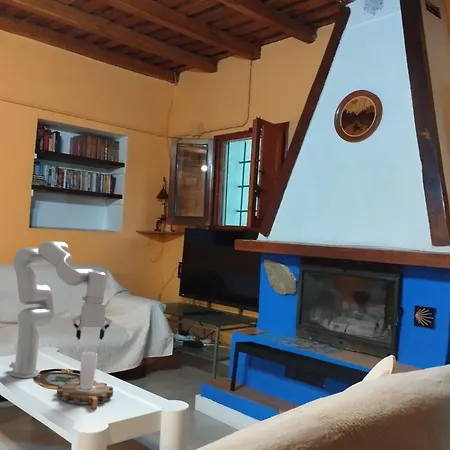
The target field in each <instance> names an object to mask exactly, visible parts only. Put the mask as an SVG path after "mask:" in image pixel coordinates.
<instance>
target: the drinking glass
mask: <svg viewBox="0 0 450 450" xmlns="http://www.w3.org/2000/svg"><path fill="white" fill-rule="evenodd" d="M97 364H98V352H95V351H83V352H81V356H80V372H79V379H80V388H81V389H85V390H87V389H91V388H92V387H93V381H95V380H94V379H95V374H96V369H97Z"/></svg>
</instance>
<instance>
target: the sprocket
mask: <svg viewBox="0 0 450 450" xmlns="http://www.w3.org/2000/svg"><path fill="white" fill-rule="evenodd" d="M56 396H57V397H58V396H62V399H64V400H68V399H71V400H74V402H78V403H80V402H81V401H88V402H89V403H91V397H97V398H98V400H101V401H105V400H107V397H111V398H112V397H113V396H114V387H113V386H108V383H106V382H101V383H100V382H97V381H96V380H93V387H92V388H91V389H87V390H85V389H81V388H80V378H79V379H78V380H76V381H66V382H64V384H58V385H57V389H56Z"/></svg>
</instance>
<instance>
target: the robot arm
mask: <svg viewBox="0 0 450 450" xmlns="http://www.w3.org/2000/svg"><path fill="white" fill-rule="evenodd" d="M72 261H73V257H72V255H71V254H70V248H69V246H68V244H67V243H65V242H64V241H59V240H56V241H54V240H45V241H43V242H41V243H40V244H39V245H38V247H30V246H29V247H22V248H20V249H18V250H17V251H16V252H15V253H14V256H13V261H12V262H13V263H12V264H13V268H14V272H15V275H16V284H17V291H18V292H17V293H18V300H19V303H20V304H22V305H24V306H29V305H30V306H31V305H37V306H33V307H32V306H31V307H27V308H23V309H22V310H20V311H19V313H18V314H17V326H18V328H17V329H18V330H17V331H18V332H17V333H18V334H17V342H16V353H15V362H14V361H12V362H11V363H10V364H8V367H9V368H10V369H11V368H12V370H11V371H10V376H12V377H14V378H16V379H32V378H36V377H38V376H39V374H40V372H39V370H37V361H38V355H39V345H40V334H39V332H38V329H37V328H43V327H48V326H50V325H52V324H53V322H54V320H55V306H54V299H53V292H52V289H51V288H50V286H48V284H44V283H40V284H38V283H37V275H36V273H35V271H34V269H33V268H32V267H31V266H48V265H52V266H53V267H54V268H55V271H56V274H57V277H58V278H59V279H60V280H61V281H62V282H63V283H65V284H66V285H69V286H71V287H85V286H86V292H85V293H86V295H85V296H82V301H84V302H83V303H82V304H83V305H82V307H81V310H80V315H78V316H75V317H73V318H71V322H72V325H73V326H74V328H75V329H76V335H75V338H77V340H81V336H82V335H81V334H82V330H81V329H82V328H83V327H86V328H93V327H94V328H95V327H96V328H101V329H100V330H99V337H98V339H100V340H101V341H102V340H103V338H104V337H105V331H106V330H107V329H108V328H109V327H110V325H111V324H112V322H113V321H112V320H111V319H110V318H108V317H106V304H105V303H104V298H105V297H104V296H105V289H106V280H107V274H106V273H105V272H102V271H97V270H94V269H92V268H73V267H72V266H71V263H72ZM78 321H79V323H78V324H77V322H78ZM105 321H106V324H105Z"/></svg>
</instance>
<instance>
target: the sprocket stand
mask: <svg viewBox="0 0 450 450" xmlns="http://www.w3.org/2000/svg"><path fill="white" fill-rule="evenodd" d="M57 397H58V399H59V400H61V401H62V402H64V403H66V404H70V405H76V406H89V407H90V408H91V410H97V408H98V405H101V404H104V403H106V402H108V401H110V400H111V398H112V397H107V400H105V401H101V400H98V398H97V397H91V403H89V402H88V401H81V402H80V403H78V402H74V400H71V399H68V400H64V399H62V396H58V395H57Z"/></svg>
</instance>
